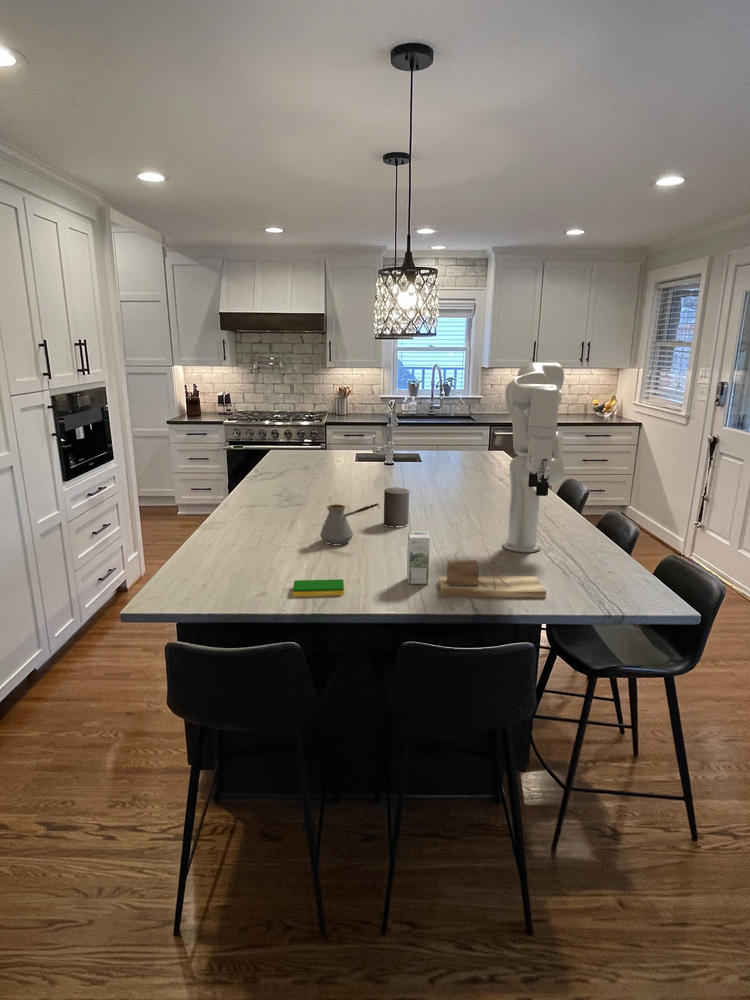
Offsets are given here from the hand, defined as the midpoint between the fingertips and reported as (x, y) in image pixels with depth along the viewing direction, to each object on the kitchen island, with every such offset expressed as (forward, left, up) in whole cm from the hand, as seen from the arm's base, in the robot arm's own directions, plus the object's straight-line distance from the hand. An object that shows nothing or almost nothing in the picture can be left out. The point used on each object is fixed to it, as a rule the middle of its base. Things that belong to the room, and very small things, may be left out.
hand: (537, 491), depth 166 cm
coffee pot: (-30, -55, -26) cm, 68 cm away
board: (+11, -14, -26) cm, 32 cm away
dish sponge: (+12, -63, -27) cm, 69 cm away
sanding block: (+11, -22, -24) cm, 35 cm away
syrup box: (+5, -34, -26) cm, 44 cm away
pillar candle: (-53, -38, -26) cm, 71 cm away
